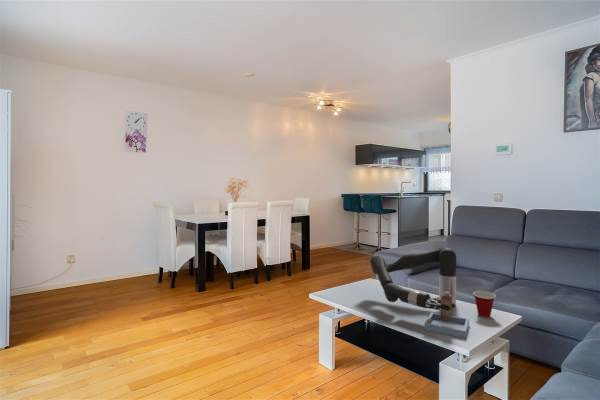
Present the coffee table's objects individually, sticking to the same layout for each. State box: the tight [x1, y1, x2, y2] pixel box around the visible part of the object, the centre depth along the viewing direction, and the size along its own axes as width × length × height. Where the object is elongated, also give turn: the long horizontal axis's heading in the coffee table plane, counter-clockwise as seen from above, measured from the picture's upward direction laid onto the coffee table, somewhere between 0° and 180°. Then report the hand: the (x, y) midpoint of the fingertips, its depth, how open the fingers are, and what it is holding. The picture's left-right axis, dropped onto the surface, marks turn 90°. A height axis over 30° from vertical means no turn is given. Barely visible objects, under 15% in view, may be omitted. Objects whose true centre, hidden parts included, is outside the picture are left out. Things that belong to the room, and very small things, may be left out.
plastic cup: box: [472, 290, 497, 318], centre depth 182 cm, size 11×11×12 cm
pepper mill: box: [440, 292, 453, 322], centre depth 166 cm, size 5×5×14 cm
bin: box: [424, 312, 470, 339], centre depth 166 cm, size 18×18×3 cm
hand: (451, 307), depth 164 cm, fingers closed on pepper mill, 5 cm apart
